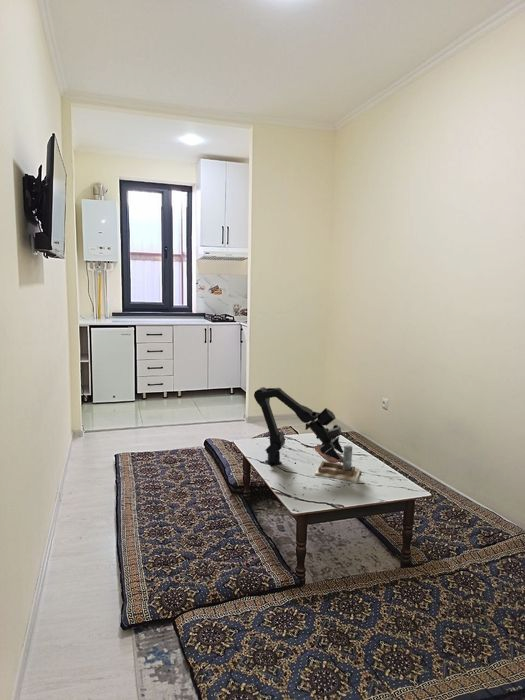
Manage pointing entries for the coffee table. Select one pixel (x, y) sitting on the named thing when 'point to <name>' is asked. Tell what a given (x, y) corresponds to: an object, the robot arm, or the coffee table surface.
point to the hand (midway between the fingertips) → (341, 456)
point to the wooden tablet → (328, 455)
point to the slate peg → (347, 458)
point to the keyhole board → (337, 471)
